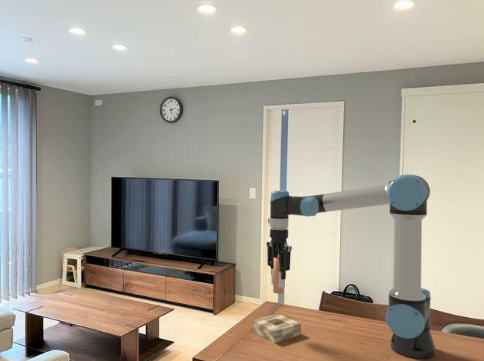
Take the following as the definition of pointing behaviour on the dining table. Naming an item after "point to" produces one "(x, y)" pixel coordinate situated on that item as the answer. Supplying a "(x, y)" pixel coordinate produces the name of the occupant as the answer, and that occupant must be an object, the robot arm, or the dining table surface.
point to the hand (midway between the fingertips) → (278, 285)
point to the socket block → (276, 327)
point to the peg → (276, 276)
